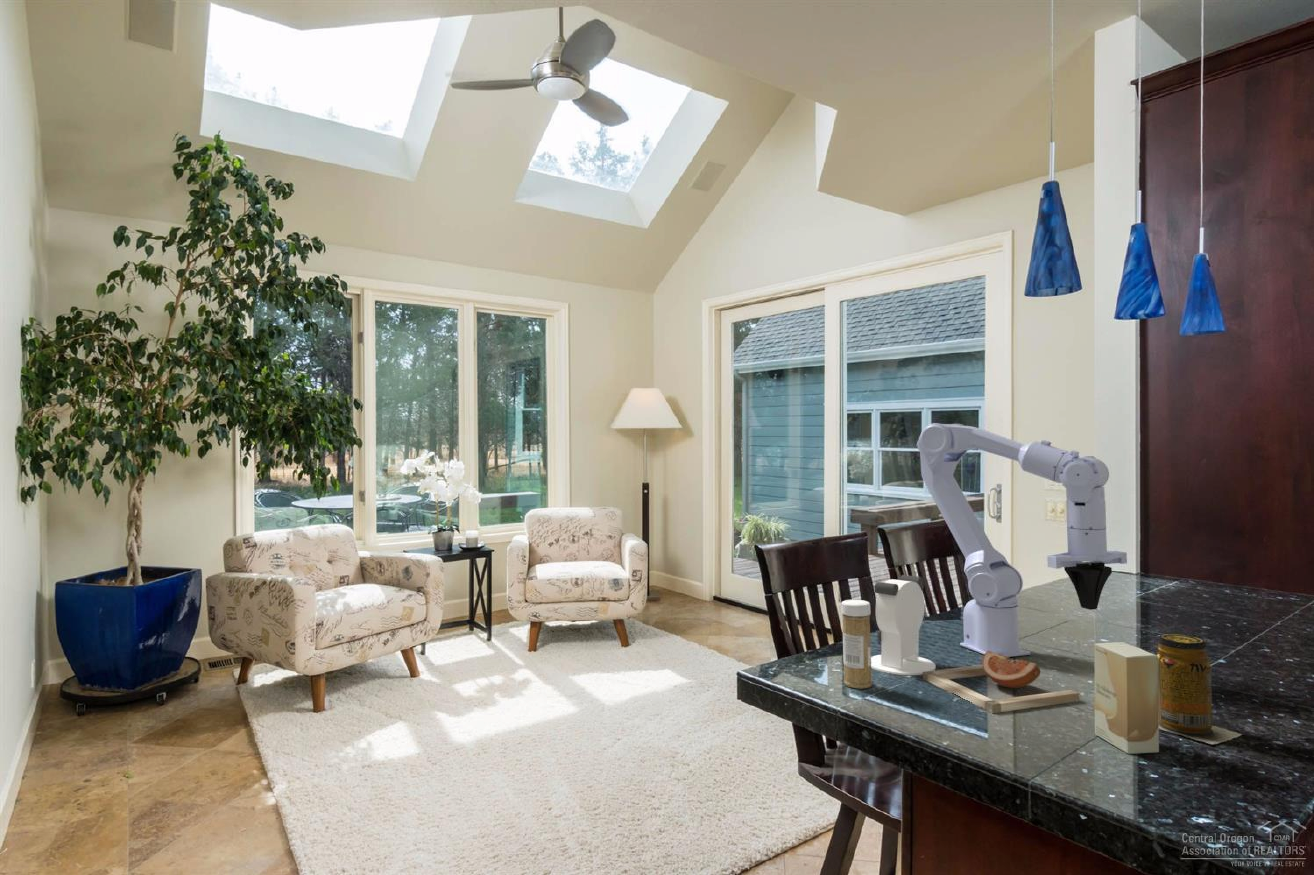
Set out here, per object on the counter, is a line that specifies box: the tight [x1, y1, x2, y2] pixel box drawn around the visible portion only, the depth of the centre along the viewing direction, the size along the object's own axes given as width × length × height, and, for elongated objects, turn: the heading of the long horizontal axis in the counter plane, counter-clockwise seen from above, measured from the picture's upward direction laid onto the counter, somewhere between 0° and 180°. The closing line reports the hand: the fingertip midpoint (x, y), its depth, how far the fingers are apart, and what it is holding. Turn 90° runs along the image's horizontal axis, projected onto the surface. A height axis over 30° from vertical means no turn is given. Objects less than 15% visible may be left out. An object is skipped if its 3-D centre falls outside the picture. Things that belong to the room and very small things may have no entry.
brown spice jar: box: [840, 599, 873, 690], centre depth 116 cm, size 5×5×13 cm
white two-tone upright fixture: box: [871, 574, 937, 676], centre depth 126 cm, size 12×11×15 cm
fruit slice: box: [981, 651, 1041, 689], centre depth 113 cm, size 8×7×5 cm
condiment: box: [1156, 633, 1243, 745], centre depth 96 cm, size 7×8×12 cm
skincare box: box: [1093, 641, 1160, 755], centre depth 92 cm, size 6×4×12 cm
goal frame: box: [922, 664, 1080, 714], centre depth 112 cm, size 16×16×1 cm
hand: (1088, 608), depth 121 cm, fingers closed
